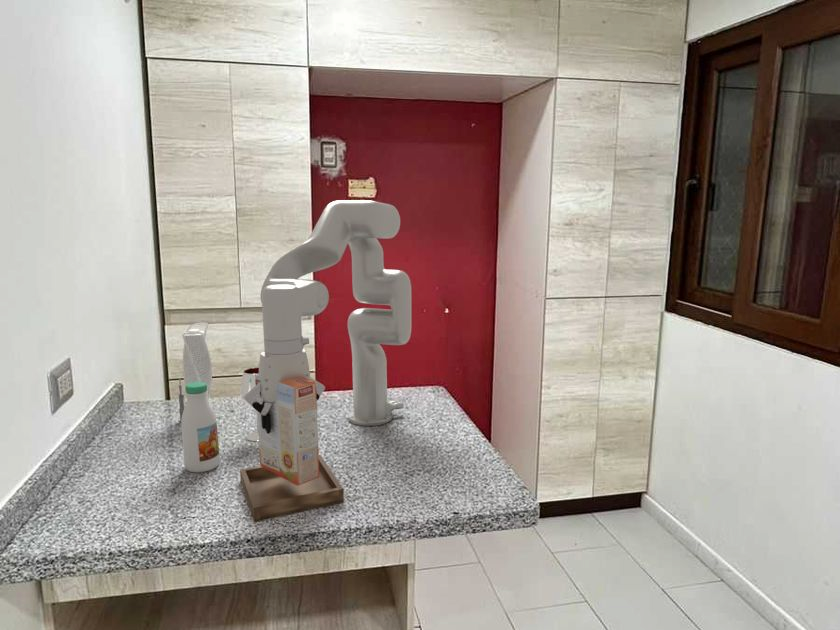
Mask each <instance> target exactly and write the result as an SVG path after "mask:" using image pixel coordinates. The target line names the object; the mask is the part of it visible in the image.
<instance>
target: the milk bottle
mask: <svg viewBox="0 0 840 630" xmlns="http://www.w3.org/2000/svg"><path fill="white" fill-rule="evenodd" d="M184 387H185V395H186V397H187V398H186V404H185V409H184V411H183V414H182V419H181V422H180V424H181V437H182V438H181V440H182V441H181V442H182V451H183V463H184V468H185V470H186V471H187V472H190V473H205V472H209V471H213V470H214V469H216V468H217V467H218V466H219V465H220V461H221V460H220V459H221V458H220V447H219V434H218V433H219V432H218V425H217V424H218V423H217V416H216V412H215V410H214V408H213V407H212V404H211V403H210V400H209V401H208V399H207V395H206V393H207V384H206V383H205V382H193V383H189V384H187V385H186V386H185V385H184Z"/></svg>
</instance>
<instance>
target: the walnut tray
mask: <svg viewBox="0 0 840 630" xmlns="http://www.w3.org/2000/svg"><path fill="white" fill-rule="evenodd" d="M239 473H240V474H239V475H240V483H241V486H242V490H243V492H244V495H245V498H246V501H247V505H248V508H249V510H250V514H251V516H252V519H253V520H252V521H253V522H254V523H257V522H261V521H267V520H269V519H275V518H279V517H280V518H281V517H283V516H287V515H292V514H293V515H294V514H297V513H302V512H307V511H311V510H315V509H320V508H325V507H329V506H333V505H337V504H342V503H345V500H344V498H345V497H344V496H345V494H344V488H343V486H342V485H341V483H340V481H339V480H338V479H337V477H336V476H335V474H334V473H333V471H332V470H331V468H330V466H329V465H328V464H327V462H326V461H325V459H324V458H323V456H322V455H321V454H319V477H318V478H316V479H313V480H311V481H308V482H306V483H303V484H301V485H299V486H297V485H295V484H293V483H291V482H290V481H288V480H286V479H284V478H282V477H280V476H278V475H276V474H275V473H273V472H271V471H269V470H267V469H265V468H263V467H261V466H260V465H256V466H252V467H251V466H250V467H247V468H242V469H241V468H240V469H239Z"/></svg>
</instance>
